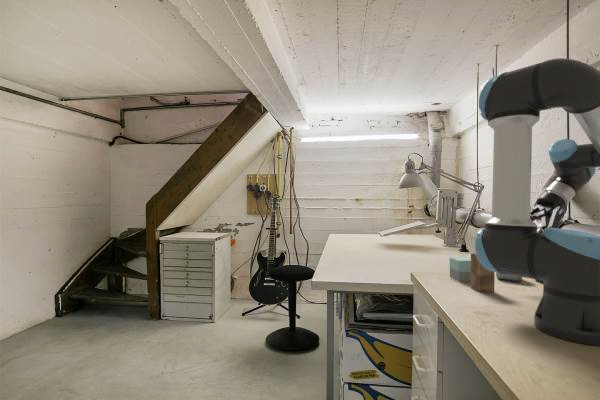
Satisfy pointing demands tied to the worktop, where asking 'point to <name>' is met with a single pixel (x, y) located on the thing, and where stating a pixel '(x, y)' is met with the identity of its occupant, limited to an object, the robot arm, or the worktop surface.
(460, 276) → the tower base
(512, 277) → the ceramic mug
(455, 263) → the tower mid
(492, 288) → the walnut post
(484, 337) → the worktop surface
